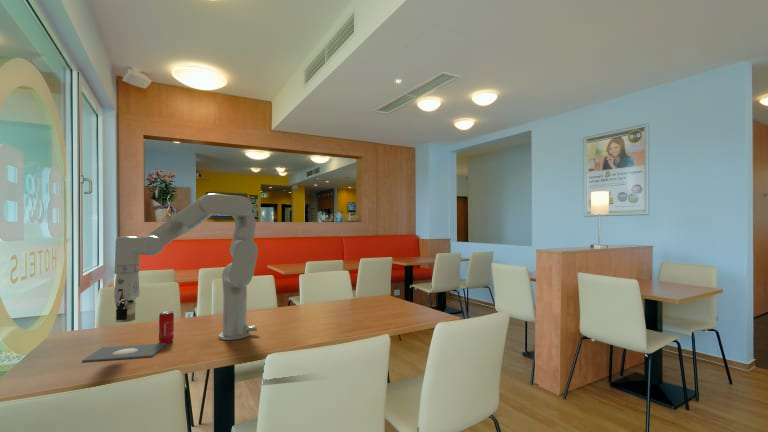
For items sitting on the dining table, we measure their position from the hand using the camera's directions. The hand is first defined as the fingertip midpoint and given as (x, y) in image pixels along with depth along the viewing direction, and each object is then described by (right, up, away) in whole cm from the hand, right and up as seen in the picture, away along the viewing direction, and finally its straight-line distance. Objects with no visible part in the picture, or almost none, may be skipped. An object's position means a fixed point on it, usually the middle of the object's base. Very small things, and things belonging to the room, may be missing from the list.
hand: (125, 317), depth 137 cm
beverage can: (+7, -14, +14) cm, 21 cm away
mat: (0, -14, +1) cm, 14 cm away
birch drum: (0, -1, 0) cm, 1 cm away
